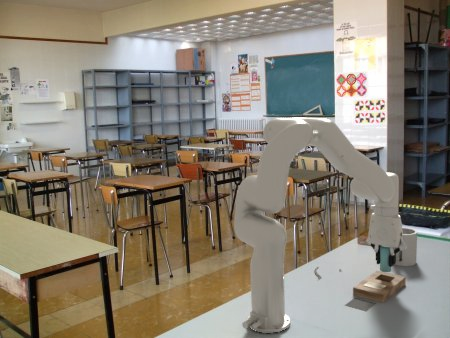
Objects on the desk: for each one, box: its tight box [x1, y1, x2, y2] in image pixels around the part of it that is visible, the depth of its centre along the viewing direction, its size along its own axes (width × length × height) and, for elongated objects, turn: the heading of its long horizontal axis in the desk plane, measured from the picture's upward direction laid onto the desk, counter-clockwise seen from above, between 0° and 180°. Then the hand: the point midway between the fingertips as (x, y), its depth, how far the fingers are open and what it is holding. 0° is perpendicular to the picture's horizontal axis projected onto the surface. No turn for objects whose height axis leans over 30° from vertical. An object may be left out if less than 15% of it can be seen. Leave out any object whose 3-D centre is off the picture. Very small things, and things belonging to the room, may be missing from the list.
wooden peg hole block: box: [352, 270, 407, 303], centre depth 165 cm, size 18×10×3 cm, turn 139°
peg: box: [379, 246, 392, 273], centre depth 166 cm, size 4×4×8 cm
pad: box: [344, 296, 377, 312], centre depth 155 cm, size 7×7×1 cm
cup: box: [394, 227, 418, 267], centre depth 189 cm, size 9×9×12 cm
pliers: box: [314, 266, 342, 281], centre depth 177 cm, size 10×1×20 cm
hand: (385, 263), depth 167 cm, fingers closed on peg, 3 cm apart
